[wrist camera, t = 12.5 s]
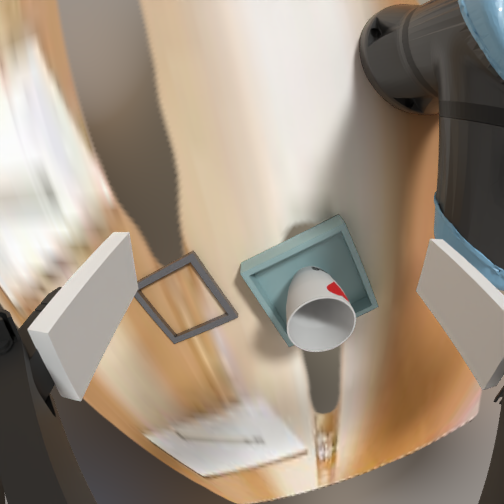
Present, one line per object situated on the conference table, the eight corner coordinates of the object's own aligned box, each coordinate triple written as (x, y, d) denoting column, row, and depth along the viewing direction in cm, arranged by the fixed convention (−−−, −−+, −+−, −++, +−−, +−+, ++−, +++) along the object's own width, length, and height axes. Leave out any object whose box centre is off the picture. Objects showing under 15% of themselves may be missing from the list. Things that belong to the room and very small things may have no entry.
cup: (345, 290, 44) (364, 334, 35) (295, 313, 46) (303, 360, 37) (324, 245, 41) (342, 284, 32) (270, 272, 43) (274, 316, 34)
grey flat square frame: (193, 250, 42) (192, 253, 41) (238, 314, 47) (237, 317, 46) (129, 285, 45) (127, 288, 44) (175, 340, 49) (174, 343, 48)
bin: (338, 214, 40) (344, 222, 37) (372, 295, 45) (378, 306, 43) (241, 262, 43) (240, 273, 40) (287, 334, 48) (289, 347, 46)
